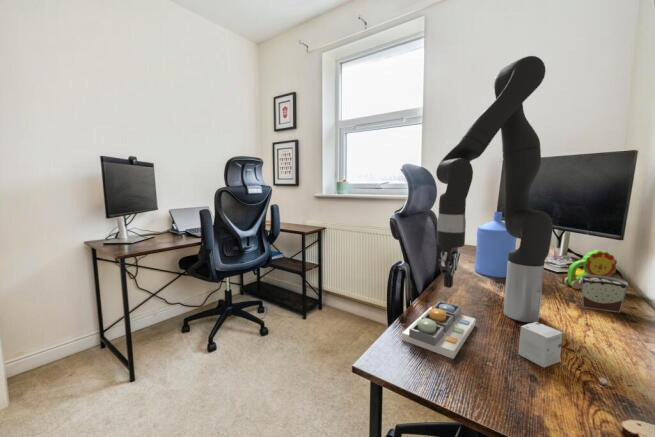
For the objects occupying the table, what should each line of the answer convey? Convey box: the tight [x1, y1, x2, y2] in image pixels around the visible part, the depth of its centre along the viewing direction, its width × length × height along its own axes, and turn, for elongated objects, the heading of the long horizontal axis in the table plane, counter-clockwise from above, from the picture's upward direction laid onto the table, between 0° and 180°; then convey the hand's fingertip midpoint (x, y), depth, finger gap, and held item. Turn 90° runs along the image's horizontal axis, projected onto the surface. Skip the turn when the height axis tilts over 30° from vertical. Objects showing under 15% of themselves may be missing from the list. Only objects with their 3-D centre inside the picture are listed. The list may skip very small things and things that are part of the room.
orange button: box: [429, 309, 446, 323], centre depth 81 cm, size 4×4×2 cm
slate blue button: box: [439, 304, 455, 313], centre depth 87 cm, size 4×4×2 cm
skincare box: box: [517, 321, 564, 369], centre depth 69 cm, size 6×6×7 cm
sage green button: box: [418, 319, 436, 335], centre depth 75 cm, size 4×4×2 cm
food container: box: [579, 275, 630, 313], centre depth 97 cm, size 12×6×10 cm, turn 65°
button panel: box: [401, 300, 476, 360], centre depth 80 cm, size 13×23×4 cm, turn 140°
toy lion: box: [564, 249, 618, 290], centre depth 113 cm, size 16×6×15 cm, turn 84°
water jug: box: [474, 211, 518, 279], centre depth 131 cm, size 16×16×28 cm
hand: (448, 286), depth 86 cm, fingers closed
